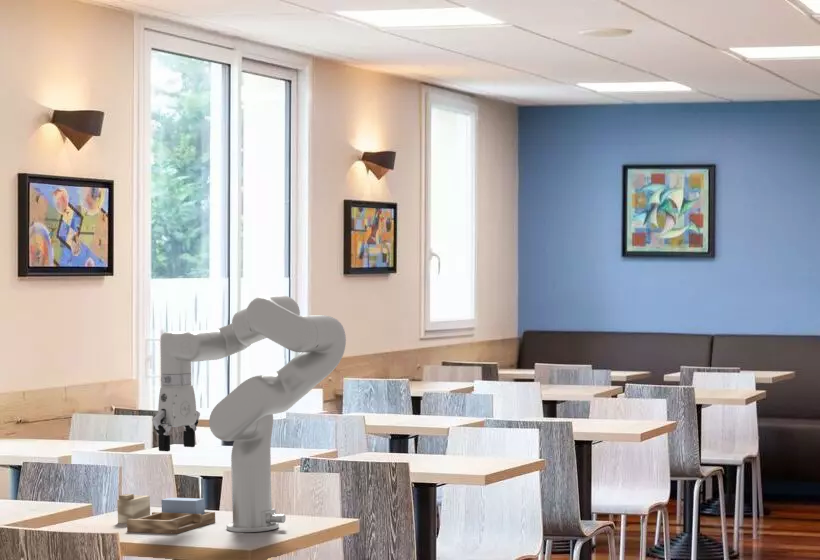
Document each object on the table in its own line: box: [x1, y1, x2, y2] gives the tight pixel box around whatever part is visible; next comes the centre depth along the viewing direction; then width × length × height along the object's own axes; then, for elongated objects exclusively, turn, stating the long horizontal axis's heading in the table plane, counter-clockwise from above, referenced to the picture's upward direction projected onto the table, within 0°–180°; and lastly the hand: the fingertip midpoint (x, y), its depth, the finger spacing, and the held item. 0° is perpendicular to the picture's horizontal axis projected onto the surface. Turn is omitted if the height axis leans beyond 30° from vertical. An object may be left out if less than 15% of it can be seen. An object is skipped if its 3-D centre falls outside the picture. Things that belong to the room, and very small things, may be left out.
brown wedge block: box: [116, 493, 151, 525], centre depth 365 cm, size 4×9×7 cm, turn 157°
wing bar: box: [161, 497, 206, 515], centre depth 359 cm, size 10×4×5 cm, turn 67°
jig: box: [126, 511, 216, 535], centre depth 354 cm, size 14×18×3 cm
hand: (176, 448), depth 360 cm, fingers open, 9 cm apart
